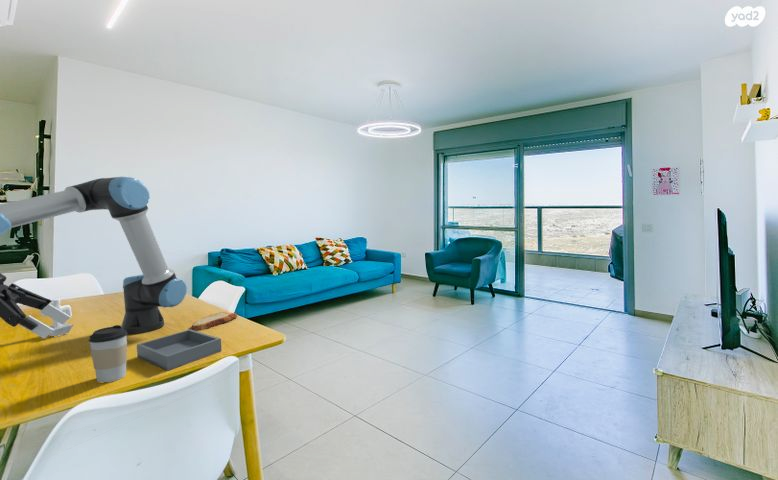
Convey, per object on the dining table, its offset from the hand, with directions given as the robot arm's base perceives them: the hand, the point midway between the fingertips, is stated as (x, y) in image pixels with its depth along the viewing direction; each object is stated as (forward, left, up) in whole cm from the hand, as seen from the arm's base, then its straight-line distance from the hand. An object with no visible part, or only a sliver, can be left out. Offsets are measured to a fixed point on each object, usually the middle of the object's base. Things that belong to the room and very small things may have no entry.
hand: (58, 327), depth 99 cm
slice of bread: (-17, +56, -18) cm, 62 cm away
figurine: (-59, +14, -18) cm, 63 cm away
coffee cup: (+5, +9, -18) cm, 21 cm away
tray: (+5, +29, -17) cm, 35 cm away
